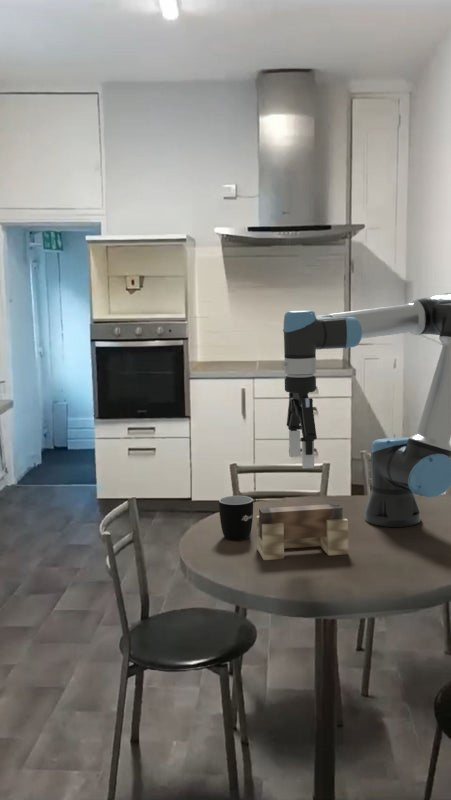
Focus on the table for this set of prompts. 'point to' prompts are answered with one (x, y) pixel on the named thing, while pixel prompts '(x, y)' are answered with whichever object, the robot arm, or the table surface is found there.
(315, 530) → the brown rectangular block
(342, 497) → the table surface
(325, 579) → the table surface
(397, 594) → the table surface
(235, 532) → the mug
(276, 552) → the posts
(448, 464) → the robot arm
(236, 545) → the table surface
